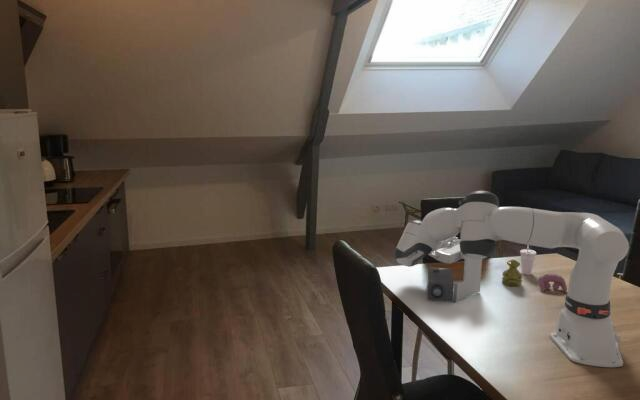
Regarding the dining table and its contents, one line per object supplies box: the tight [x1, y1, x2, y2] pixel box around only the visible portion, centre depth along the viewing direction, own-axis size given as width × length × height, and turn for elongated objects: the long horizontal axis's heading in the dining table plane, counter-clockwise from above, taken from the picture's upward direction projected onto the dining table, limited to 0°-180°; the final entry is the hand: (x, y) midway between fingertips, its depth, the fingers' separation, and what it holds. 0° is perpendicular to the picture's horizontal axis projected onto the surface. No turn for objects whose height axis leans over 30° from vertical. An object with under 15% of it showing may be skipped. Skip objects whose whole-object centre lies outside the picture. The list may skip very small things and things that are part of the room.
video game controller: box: [538, 273, 568, 293], centre depth 192 cm, size 10×5×7 cm, turn 85°
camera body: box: [426, 266, 455, 303], centre depth 187 cm, size 18×9×8 cm, turn 168°
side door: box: [452, 256, 483, 303], centre depth 182 cm, size 16×1×19 cm, turn 128°
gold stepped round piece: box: [501, 259, 524, 288], centre depth 196 cm, size 7×7×10 cm
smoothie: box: [519, 245, 537, 276], centre depth 208 cm, size 6×6×14 cm
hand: (474, 256), depth 184 cm, fingers closed
